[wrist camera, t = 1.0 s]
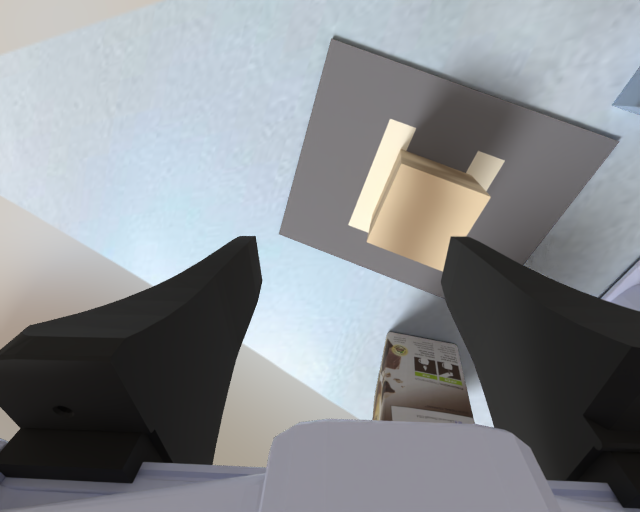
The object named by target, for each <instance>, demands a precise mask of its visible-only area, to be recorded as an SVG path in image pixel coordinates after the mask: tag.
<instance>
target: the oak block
mask: <svg viewBox="0 0 640 512" xmlns="http://www.w3.org/2000/svg"><path fill="white" fill-rule="evenodd" d="M490 198H491V196H490V195H489V194H488V193H487V192H486V191H485V190H484V189H483V187H482V186H481V185H480V184H479V183H478V182H477V181H476V180H475V179H474V177H473V176H472V175H470V174H467V173H464V172H462V171H459V170H456V169H453V168H451V167H448V166H445V165H443V164H440V163H437V162H435V161H432V160H429V159H426V158H424V157H421V156H418V155H416V154H413V153H410V152H408V151H405V150H402V149H400V152H399V154H398V156H397V159H396V161H395V163H394V165H393V168H392V170H391V172H390V175H389V177H388V179H387V182H386V184H385V186H384V189H383V191H382V193H381V196H380V198H379V200H378V203H377V205H376V207H375V210H374V212H373V214H372V219H371V223H370V228H369V233H368V237H367V243H370V244H373V245H375V246H378V247H380V248H383V249H386V250H388V251H391V252H393V253H396V254H399V255H401V256H404V257H406V258H409V259H411V260H414V261H417V262H419V263H422V264H424V265H427V266H430V267H432V268H435V269H437V270H440V271H443V269H444V265H445V260H446V256H447V251H448V246H449V242H450V237H451V236H467V234H468V233H469V231H470V230H471V228H472V226H473V225H474V223H475V222H476V220H477V219H478V217H479V215H480V214H481V212H482V211H483V209H484V207H485V206H486V204H487V203H488V201H489V199H490Z"/></svg>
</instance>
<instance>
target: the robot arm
mask: <svg viewBox="0 0 640 512" xmlns="http://www.w3.org/2000/svg"><path fill="white" fill-rule="evenodd" d="M261 284H262V275H261V269H260V262H259V256H258V249H257V243H256V236H239V237H237V238H235V239H234V240H232V241H230V242H229V243H227V244H226V245H224V246H223V247H221V248H220V249H218V250H217V251H215V252H214V253H212V254H211V255H209V256H208V257H206V258H205V259H203V260H202V261H200V262H198V263H197V264H195V265H193V266H192V267H190V268H188V269H187V270H185V271H183V272H181V273H180V274H178V275H176V276H174V277H172V278H170V279H168V280H166V281H164V282H162V283H160V284H158V285H156V286H153V287H151V288H149V289H146V290H144V291H141V292H139V293H137V294H134V295H132V296H129V297H127V298H124V299H121V300H119V301H116V302H113V303H110V304H107V305H104V306H101V307H98V308H95V309H91V310H88V311H85V312H81V313H78V314H74V315H70V316H66V317H62V318H58V319H54V320H51V321H47V322H42V323H38V324H34V325H30V326H28V327H27V328H26V329H24V330H23V331H22V332H21V333H20V334H19V335H18V336H16V337H15V338H14V339H13V340H12V341H10V342H9V343H8V344H7V345H6V346H4V347H3V348H2V349H1V350H0V407H1V408H2V409H3V410H4V411H5V412H6V413H7V414H8V415H9V417H10V418H12V420H13V421H14V422H15V423H16V424H17V425H18V426H19V427H20V428H21V429H20V430H19V431H18V432H17V433H16V434H15V436H14V437H13V438H12V439H11V440H10V441H9V442H8V441H6V440H4V439H1V438H0V512H640V260H639V261H638V262H637V263H636V264H635V265H634V266H633V267H632V268H631V269H630V270H629V271H628V272H627V273H626V274H625V275H624V276H623V277H622V278H621V279H620V280H619V281H618V282H617V283H616V284H615V285H614V286H613V287H612V288H611V289H610V290H609V291H608V292H607V293H606V294H605V295H604V296H603V297H602V298H601V299H600V298H597V297H594V296H591V295H589V294H586V293H583V292H581V291H578V290H576V289H573V288H571V287H568V286H566V285H564V284H561V283H559V282H556V281H554V280H552V279H550V278H548V277H545V276H543V275H541V274H539V273H537V272H535V271H533V270H531V269H529V268H527V267H525V266H523V265H521V264H519V263H518V262H516V261H514V260H512V259H510V258H508V257H507V256H505V255H503V254H501V253H499V252H497V251H496V250H494V249H492V248H490V247H489V246H487V245H485V244H483V243H481V242H479V241H477V240H475V239H473V238H471V237H468V236H451V237H450V242H449V246H448V251H447V256H446V260H445V265H444V269H443V274H442V278H441V285H442V289H443V293H444V296H445V300H446V303H447V306H448V308H449V310H450V312H451V315H452V317H453V319H454V321H455V323H456V325H457V328H458V330H459V332H460V334H461V336H462V338H463V340H464V343H465V345H466V347H467V349H468V351H469V353H470V355H471V358H472V360H473V363H474V365H475V368H476V371H477V374H478V377H479V380H480V383H481V386H482V389H483V392H484V395H485V398H486V401H487V405H488V408H489V411H490V414H491V418H492V421H493V425H494V428H493V427H488V426H483V425H478V424H460V423H432V422H404V421H376V420H348V419H347V420H346V419H345V420H344V419H322V420H314V421H306V422H299V423H297V424H296V425H294V426H292V427H290V428H289V429H287V430H285V431H283V432H282V433H280V434H279V435H277V436H275V437H274V439H273V442H272V445H271V449H270V452H269V457H268V462H267V467H266V468H265V467H243V466H242V467H241V466H220V465H212V464H213V459H214V453H215V448H216V443H217V438H218V434H219V429H220V424H221V419H222V414H223V410H224V406H225V402H226V398H227V393H228V389H229V385H230V381H231V377H232V373H233V369H234V365H235V362H236V358H237V355H238V352H239V349H240V347H241V344H242V342H243V339H244V336H245V334H246V331H247V329H248V326H249V323H250V321H251V318H252V316H253V313H254V310H255V308H256V305H257V302H258V298H259V294H260V289H261Z"/></svg>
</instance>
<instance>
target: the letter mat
mask: <svg viewBox="0 0 640 512" xmlns="http://www.w3.org/2000/svg"><path fill="white" fill-rule="evenodd" d="M619 142H620V141H617V140H614V139H611V138H608V137H606V136H603V135H600V134H597V133H594V132H592V131H589V130H586V129H583V128H580V127H578V126H575V125H572V124H569V123H566V122H564V121H561V120H558V119H555V118H552V117H550V116H547V115H544V114H541V113H538V112H536V111H533V110H530V109H527V108H524V107H522V106H519V105H516V104H513V103H510V102H508V101H505V100H502V99H499V98H496V97H494V96H491V95H488V94H485V93H482V92H480V91H477V90H474V89H471V88H468V87H466V86H463V85H460V84H457V83H454V82H452V81H449V80H446V79H443V78H440V77H438V76H435V75H432V74H429V73H426V72H424V71H421V70H418V69H415V68H412V67H410V66H407V65H404V64H401V63H398V62H396V61H393V60H390V59H387V58H384V57H382V56H379V55H376V54H373V53H370V52H368V51H365V50H362V49H359V48H356V47H354V46H351V45H348V44H345V43H342V42H340V41H337V40H334V39H331V42H330V46H329V49H328V53H327V57H326V61H325V64H324V68H323V72H322V75H321V79H320V83H319V87H318V90H317V94H316V98H315V102H314V105H313V109H312V113H311V116H310V120H309V124H308V128H307V131H306V135H305V139H304V143H303V146H302V150H301V154H300V157H299V161H298V165H297V169H296V172H295V176H294V180H293V184H292V187H291V191H290V195H289V198H288V202H287V206H286V210H285V213H284V217H283V221H282V225H281V228H280V232H279V234H280V235H283V236H285V237H288V238H290V239H293V240H295V241H298V242H301V243H303V244H306V245H308V246H311V247H313V248H316V249H318V250H321V251H324V252H326V253H329V254H331V255H334V256H336V257H339V258H342V259H344V260H347V261H349V262H352V263H354V264H357V265H359V266H362V267H365V268H367V269H370V270H372V271H375V272H377V273H380V274H383V275H385V276H388V277H390V278H393V279H395V280H398V281H400V282H403V283H406V284H408V285H411V286H413V287H416V288H418V289H421V290H424V291H426V292H429V293H431V294H434V295H436V296H439V297H441V298H444V299H445V296H444V293H443V289H442V285H441V278H442V274H443V271H440V270H437V269H435V268H432V267H430V266H427V265H424V264H422V263H419V262H417V261H414V260H411V259H409V258H406V257H404V256H401V255H399V254H396V253H393V252H391V251H388V250H386V249H383V248H380V247H378V246H375V245H373V244H370V243H367V237H368V233H369V228H370V223H371V219H372V214H373V212H374V210H375V207H376V205H377V203H378V200H379V198H380V196H381V193H382V191H383V189H384V186H385V184H386V182H387V179H388V177H389V175H390V172H391V170H392V168H393V165H394V163H395V161H396V159H397V156H398V154H399V152H400V149H402V150H405V151H408V152H410V153H413V154H416V155H418V156H421V157H424V158H426V159H429V160H432V161H435V162H437V163H440V164H443V165H445V166H448V167H451V168H453V169H456V170H459V171H462V172H464V173H467V174H470V175H472V176H473V177H474V179H475V180H476V181H477V182H478V183H479V184H480V185H481V186H482V187H483V189H484V190H485V191H486V192H487V193H488V194H489V195H490V196H491V198H490V199H489V201H488V203H487V204H486V206H485V207H484V209H483V211H482V212H481V214H480V215H479V217H478V219H477V220H476V222H475V223H474V225H473V226H472V228H471V230H470V231H469V233H468V234H467V236H468V237H471V238H473V239H475V240H477V241H479V242H481V243H483V244H485V245H487V246H489V247H490V248H492V249H494V250H496V251H497V252H499V253H501V254H503V255H505V256H507V257H508V258H510V259H512V260H514V261H516V262H518V263H519V264H521V265H523V264H524V263H525V262H526V261H527V259H528V258H529V257H530V255H531V254H532V253H533V252H534V250H535V249H536V248H537V246H538V245H539V244H540V243H541V241H542V240H543V239H544V237H545V236H546V235H547V234H548V232H549V231H550V230H551V229H552V227H553V226H554V225H555V223H556V222H557V221H558V220H559V218H560V217H561V216H562V214H563V213H564V212H565V211H566V209H567V208H568V207H569V206H570V204H571V203H572V202H573V200H574V199H575V198H576V197H577V195H578V194H579V193H580V191H581V190H582V189H583V188H584V186H585V185H586V184H587V182H588V181H589V180H590V179H591V177H592V176H593V175H594V174H595V172H596V171H597V170H598V168H599V167H600V166H601V165H602V163H603V162H604V161H605V159H606V158H607V157H608V156H609V154H610V153H611V152H612V150H613V149H614V148H615V147H616V145H617V144H618V143H619Z"/></svg>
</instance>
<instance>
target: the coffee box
mask: <svg viewBox="0 0 640 512" xmlns="http://www.w3.org/2000/svg"><path fill="white" fill-rule="evenodd" d="M373 420H376V421H404V422H432V423H460V424H475V422H474V419H473V414H472V410H471V405H470V401H469V396H468V392H467V387H466V383H465V378H464V374H463V369H462V365H461V361H460V356H459V351H458V347H457V345H455V344H451V343H446V342H440V341H435V340H430V339H425V338H420V337H415V336H409V335H404V334H399V333H394V332H389V333H388V334H387V337H386V341H385V346H384V351H383V356H382V361H381V366H380V371H379V376H378V381H377V386H376V391H375V396H374V408H373Z"/></svg>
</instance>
